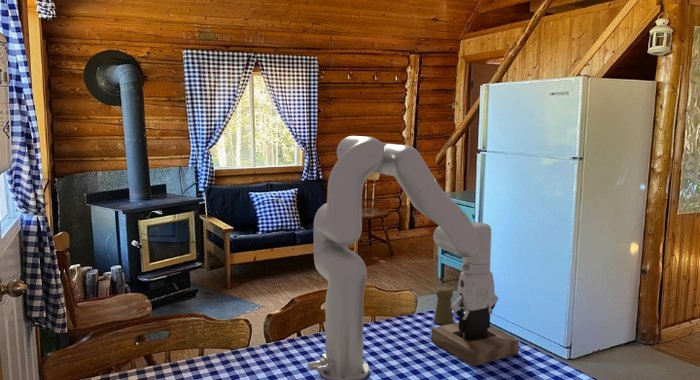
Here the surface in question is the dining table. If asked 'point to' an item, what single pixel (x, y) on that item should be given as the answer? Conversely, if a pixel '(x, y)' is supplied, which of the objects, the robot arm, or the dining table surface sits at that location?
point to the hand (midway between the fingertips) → (474, 328)
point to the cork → (444, 306)
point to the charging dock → (475, 344)
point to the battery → (477, 324)
